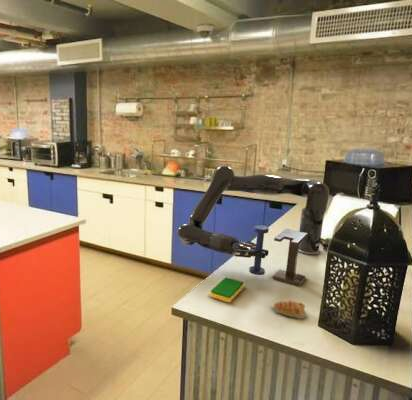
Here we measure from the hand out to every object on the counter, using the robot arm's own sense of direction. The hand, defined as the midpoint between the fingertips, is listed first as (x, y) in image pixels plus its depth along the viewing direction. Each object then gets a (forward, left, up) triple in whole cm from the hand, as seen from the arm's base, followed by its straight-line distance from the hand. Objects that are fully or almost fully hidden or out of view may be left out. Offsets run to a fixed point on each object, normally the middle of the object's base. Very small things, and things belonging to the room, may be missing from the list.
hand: (266, 254), depth 138 cm
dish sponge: (+15, -8, -12) cm, 21 cm away
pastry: (+15, +14, -12) cm, 24 cm away
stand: (-7, +6, -12) cm, 15 cm away
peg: (0, -3, -8) cm, 9 cm away
